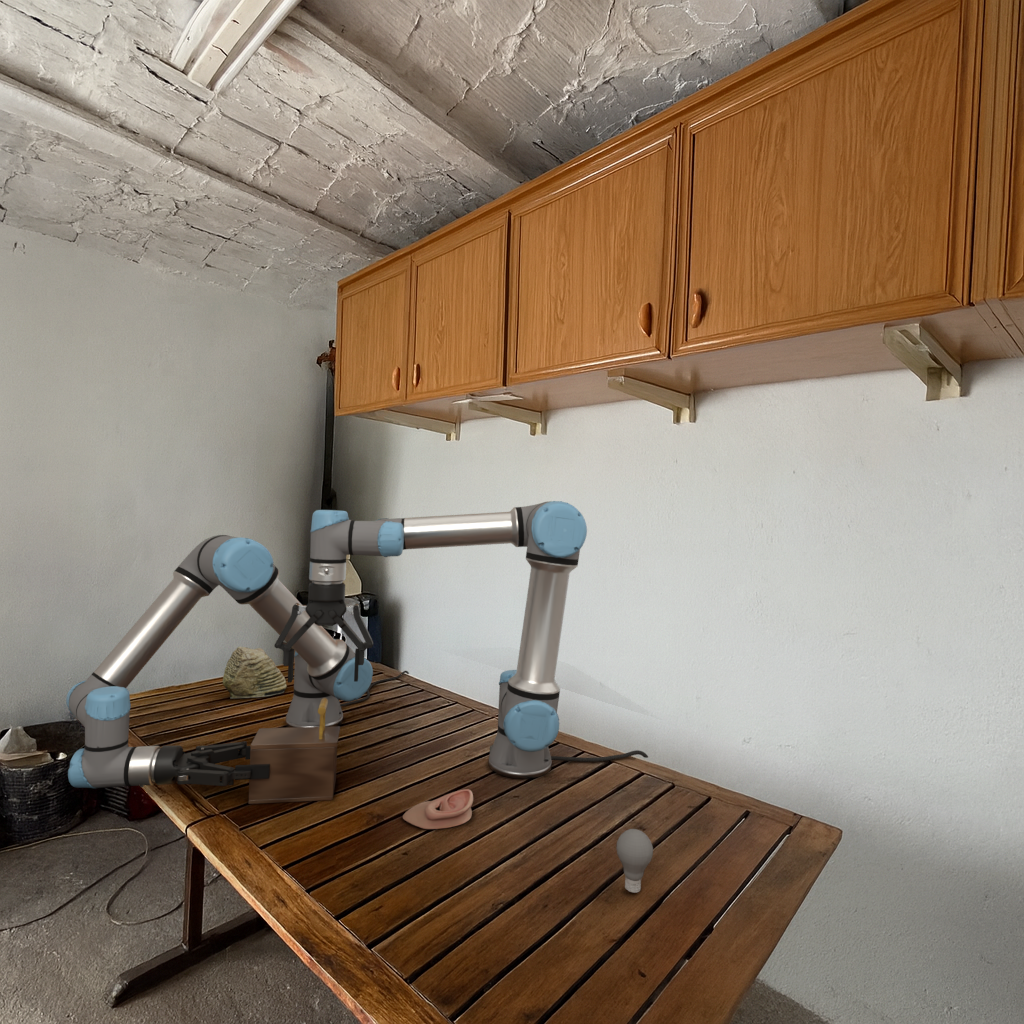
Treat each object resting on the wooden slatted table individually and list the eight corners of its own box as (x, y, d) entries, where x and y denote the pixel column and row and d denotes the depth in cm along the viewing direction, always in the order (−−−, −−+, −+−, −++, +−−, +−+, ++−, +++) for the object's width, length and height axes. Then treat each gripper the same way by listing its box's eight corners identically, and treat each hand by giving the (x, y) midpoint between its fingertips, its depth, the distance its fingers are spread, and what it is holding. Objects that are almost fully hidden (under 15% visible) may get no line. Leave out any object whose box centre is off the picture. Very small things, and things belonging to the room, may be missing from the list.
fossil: (218, 695, 195) (220, 647, 195) (278, 685, 208) (279, 640, 207) (228, 703, 189) (230, 653, 188) (289, 692, 201) (290, 645, 201)
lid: (339, 730, 142) (341, 695, 142) (336, 746, 132) (338, 709, 132) (259, 732, 138) (260, 696, 138) (250, 749, 129) (251, 711, 129)
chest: (335, 780, 142) (337, 730, 142) (332, 800, 133) (334, 747, 132) (257, 783, 139) (259, 732, 138) (248, 804, 129) (250, 749, 129)
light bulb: (610, 879, 108) (613, 822, 108) (644, 879, 109) (647, 822, 109) (619, 902, 102) (622, 840, 102) (655, 901, 103) (658, 840, 103)
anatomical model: (397, 804, 123) (417, 779, 135) (396, 824, 123) (417, 798, 135) (462, 814, 121) (478, 788, 132) (462, 835, 121) (477, 807, 132)
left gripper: (175, 761, 141) (280, 757, 145) (137, 809, 119) (263, 803, 124) (176, 727, 141) (282, 725, 145) (138, 770, 119) (264, 765, 124)
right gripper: (262, 583, 130) (258, 686, 130) (386, 585, 135) (382, 684, 135) (269, 578, 137) (265, 676, 137) (386, 580, 142) (382, 674, 142)
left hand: (273, 761), depth 135 cm, fingers closed on chest, 9 cm apart
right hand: (323, 680), depth 136 cm, fingers open, 13 cm apart
